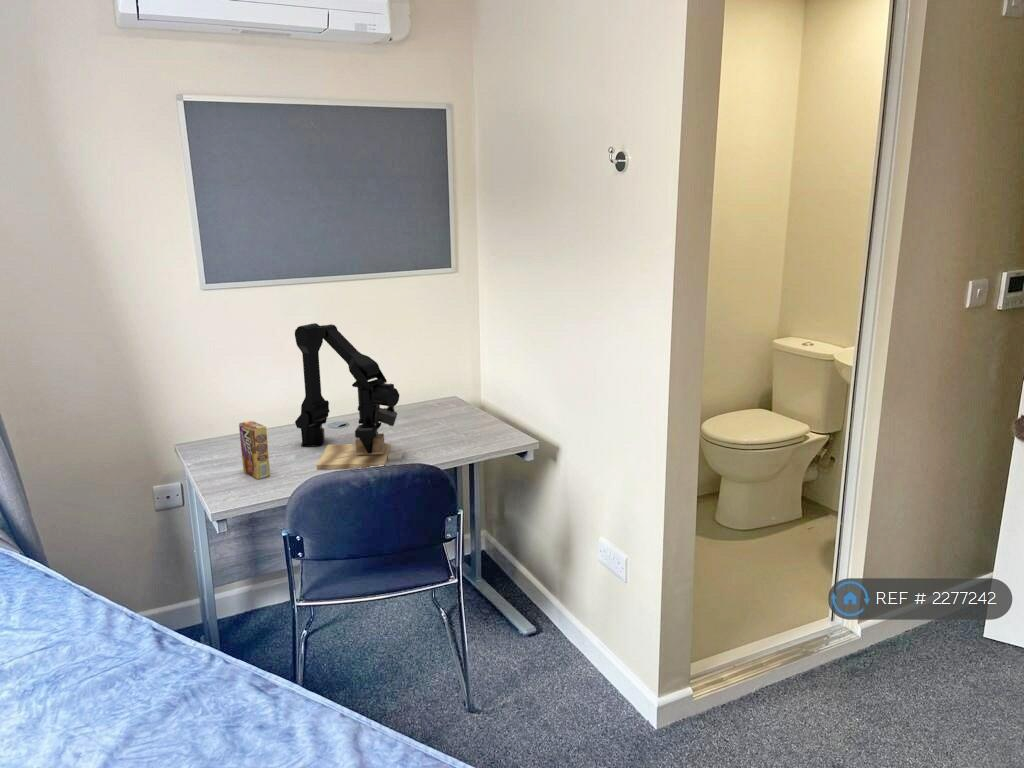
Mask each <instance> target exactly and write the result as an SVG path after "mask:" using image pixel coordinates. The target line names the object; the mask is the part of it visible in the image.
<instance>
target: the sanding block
mask: <svg viewBox="0 0 1024 768" xmlns="http://www.w3.org/2000/svg"><path fill="white" fill-rule="evenodd" d="M384 443H385V433H384V432H383V433H378V434H377V436H376V437H374V439H373V447H372V453H368V452H367V451H366V449H365V447H364V445H363V443H362V442H361V440H360V439H359V438H356V437H355V444H356V452H357V455H371V454H383V452H384V449H385V446H384Z"/></svg>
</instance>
